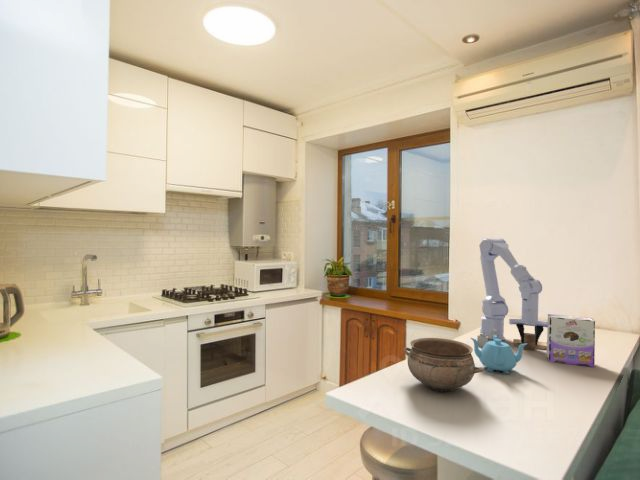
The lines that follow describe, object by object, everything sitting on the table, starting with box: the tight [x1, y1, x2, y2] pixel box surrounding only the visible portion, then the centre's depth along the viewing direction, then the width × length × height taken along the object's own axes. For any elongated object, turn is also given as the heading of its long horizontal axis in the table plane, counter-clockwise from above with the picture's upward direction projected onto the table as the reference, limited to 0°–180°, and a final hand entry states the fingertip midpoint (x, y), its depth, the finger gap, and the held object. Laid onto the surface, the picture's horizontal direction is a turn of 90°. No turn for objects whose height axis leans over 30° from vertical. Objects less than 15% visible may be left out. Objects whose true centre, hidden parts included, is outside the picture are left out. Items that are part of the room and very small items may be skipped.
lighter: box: [476, 329, 497, 348], centre depth 152 cm, size 7×2×8 cm, turn 46°
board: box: [513, 338, 547, 351], centre depth 154 cm, size 15×6×2 cm, turn 69°
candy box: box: [546, 313, 596, 368], centre depth 135 cm, size 14×6×16 cm, turn 65°
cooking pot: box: [402, 337, 485, 393], centre depth 111 cm, size 25×19×12 cm
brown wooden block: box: [523, 332, 536, 351], centre depth 153 cm, size 4×8×6 cm, turn 159°
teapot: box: [470, 334, 527, 375], centre depth 127 cm, size 13×13×10 cm
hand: (529, 343), depth 151 cm, fingers closed on brown wooden block, 4 cm apart
